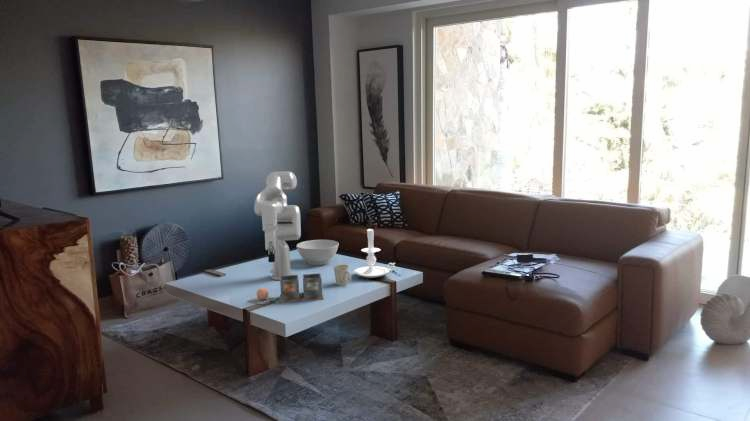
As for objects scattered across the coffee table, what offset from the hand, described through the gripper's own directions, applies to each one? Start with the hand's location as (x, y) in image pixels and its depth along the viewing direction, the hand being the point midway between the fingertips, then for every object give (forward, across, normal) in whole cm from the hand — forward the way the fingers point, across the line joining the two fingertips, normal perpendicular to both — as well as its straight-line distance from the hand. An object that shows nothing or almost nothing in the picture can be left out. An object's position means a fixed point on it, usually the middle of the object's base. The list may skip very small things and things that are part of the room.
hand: (271, 259), depth 304 cm
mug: (+20, -15, +38) cm, 46 cm away
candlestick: (+20, -26, +58) cm, 67 cm away
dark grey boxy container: (+20, +3, +14) cm, 25 cm away
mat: (+20, +3, -6) cm, 21 cm away
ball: (+17, +3, -6) cm, 18 cm away
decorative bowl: (+19, -67, +28) cm, 75 cm away
